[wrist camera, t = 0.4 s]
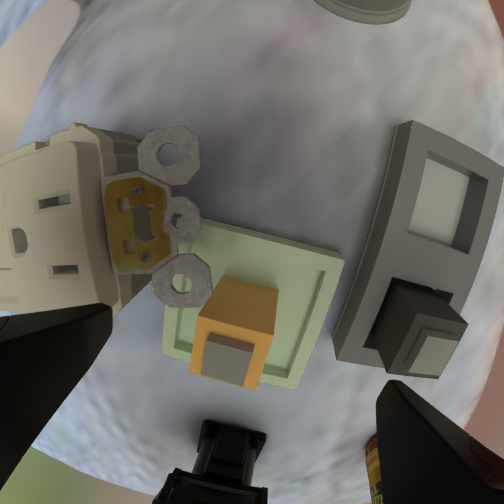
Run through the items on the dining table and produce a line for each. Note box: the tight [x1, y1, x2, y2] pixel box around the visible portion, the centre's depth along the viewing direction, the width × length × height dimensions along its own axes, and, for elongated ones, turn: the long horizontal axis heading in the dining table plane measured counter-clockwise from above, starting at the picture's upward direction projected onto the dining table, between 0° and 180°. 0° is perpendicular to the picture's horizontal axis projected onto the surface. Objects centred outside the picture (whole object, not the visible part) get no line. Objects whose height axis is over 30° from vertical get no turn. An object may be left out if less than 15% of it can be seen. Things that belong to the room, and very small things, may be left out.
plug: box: [189, 276, 279, 390], centre depth 18 cm, size 4×4×7 cm
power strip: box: [332, 120, 504, 368], centre depth 17 cm, size 16×8×3 cm, turn 167°
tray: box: [161, 216, 345, 390], centre depth 21 cm, size 11×11×2 cm
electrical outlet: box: [0, 122, 213, 318], centre depth 17 cm, size 12×28×10 cm, turn 94°
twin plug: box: [370, 277, 468, 379], centre depth 16 cm, size 4×4×7 cm
